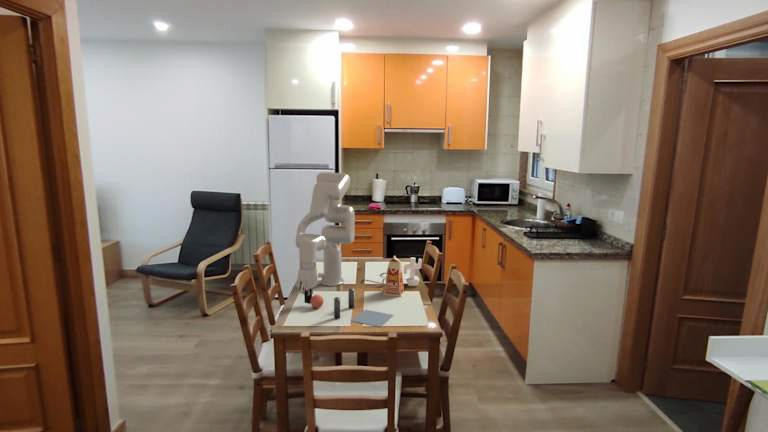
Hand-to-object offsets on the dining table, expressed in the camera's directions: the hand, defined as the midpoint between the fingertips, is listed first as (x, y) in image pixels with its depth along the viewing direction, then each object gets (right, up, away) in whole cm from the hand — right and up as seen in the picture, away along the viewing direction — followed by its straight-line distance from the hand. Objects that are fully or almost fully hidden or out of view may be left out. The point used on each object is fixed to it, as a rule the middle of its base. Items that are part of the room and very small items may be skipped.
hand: (308, 302), depth 207 cm
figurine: (+50, +3, +33) cm, 60 cm away
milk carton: (+40, +1, +20) cm, 45 cm away
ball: (+4, +1, -2) cm, 5 cm away
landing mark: (+30, -4, -12) cm, 33 cm away
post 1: (+15, -4, -13) cm, 20 cm away
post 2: (+20, -2, -1) cm, 20 cm away
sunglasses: (+33, +4, +38) cm, 50 cm away
